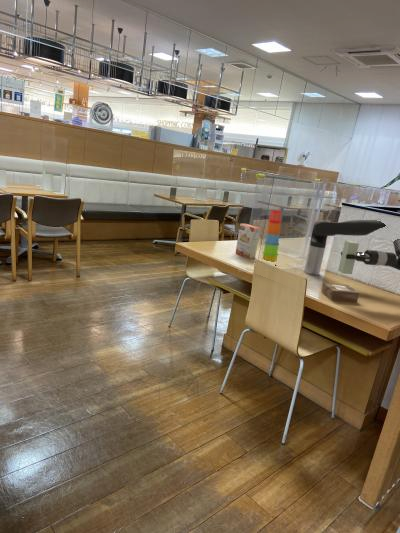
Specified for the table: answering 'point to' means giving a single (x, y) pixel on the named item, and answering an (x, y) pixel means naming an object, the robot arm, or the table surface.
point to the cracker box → (247, 240)
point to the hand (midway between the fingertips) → (344, 254)
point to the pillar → (345, 263)
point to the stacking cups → (272, 236)
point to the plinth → (340, 292)
